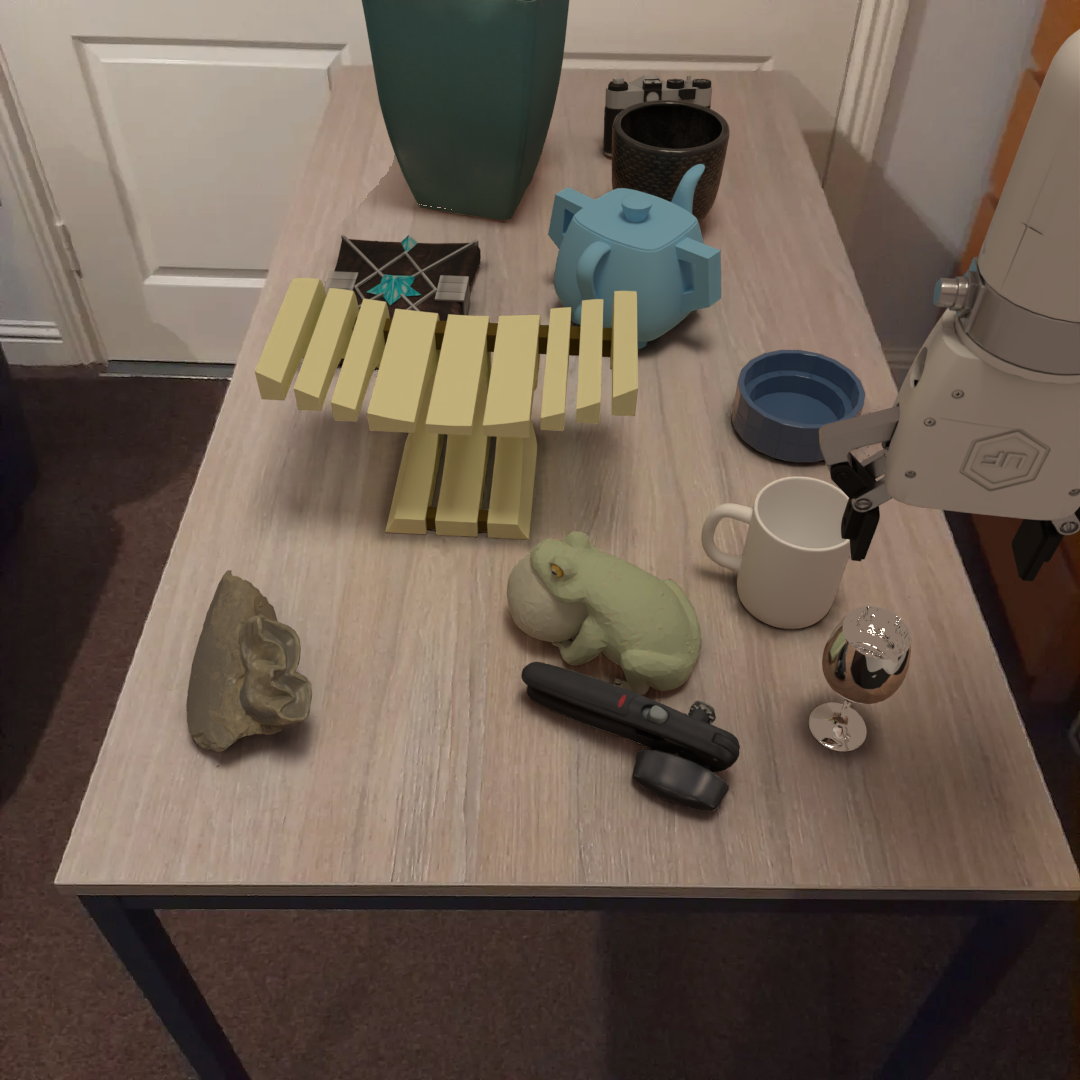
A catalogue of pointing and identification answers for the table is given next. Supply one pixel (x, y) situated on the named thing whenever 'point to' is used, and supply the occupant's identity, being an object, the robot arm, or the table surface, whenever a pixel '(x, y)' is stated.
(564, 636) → the figurine
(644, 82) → the camera
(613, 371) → the slatted curved stool
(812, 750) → the table surface
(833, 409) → the bowl
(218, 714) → the fossil
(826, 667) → the wineglass
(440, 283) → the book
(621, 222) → the teapot
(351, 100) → the table surface
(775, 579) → the cup
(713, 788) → the can opener
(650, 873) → the table surface
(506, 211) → the flower pot
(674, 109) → the planter
